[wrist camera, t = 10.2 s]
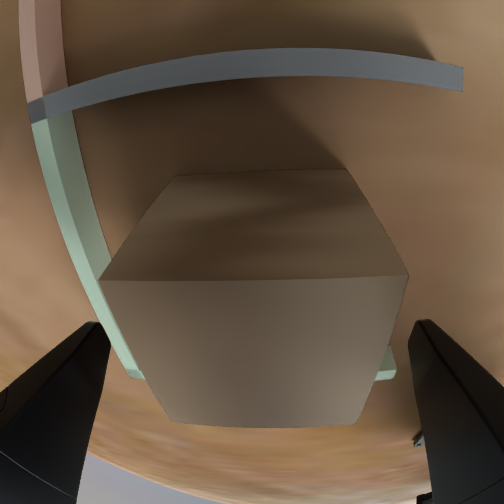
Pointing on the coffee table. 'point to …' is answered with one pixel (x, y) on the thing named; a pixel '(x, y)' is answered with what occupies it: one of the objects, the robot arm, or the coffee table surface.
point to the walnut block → (258, 298)
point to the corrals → (147, 79)
